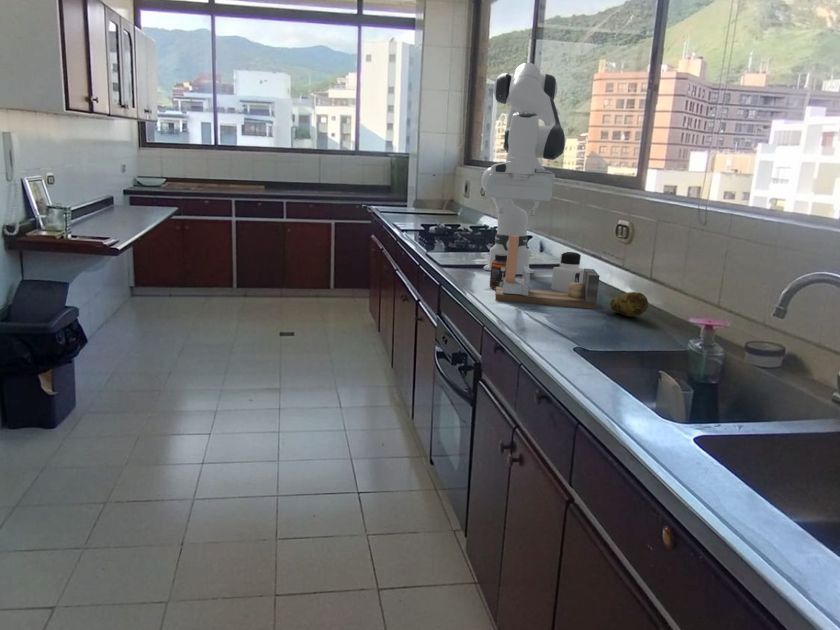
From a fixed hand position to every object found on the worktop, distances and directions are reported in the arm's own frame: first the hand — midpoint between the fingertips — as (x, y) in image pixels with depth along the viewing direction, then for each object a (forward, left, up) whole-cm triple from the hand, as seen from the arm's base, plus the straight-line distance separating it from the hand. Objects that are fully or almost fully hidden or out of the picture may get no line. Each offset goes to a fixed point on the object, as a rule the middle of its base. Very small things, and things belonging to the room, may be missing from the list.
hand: (516, 214), depth 204 cm
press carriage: (0, +2, -24) cm, 24 cm away
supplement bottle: (-14, -3, -26) cm, 30 cm away
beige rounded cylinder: (0, +20, -24) cm, 31 cm away
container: (-19, +20, -26) cm, 38 cm away
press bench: (0, +11, -26) cm, 28 cm away
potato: (+14, +34, -26) cm, 45 cm away
